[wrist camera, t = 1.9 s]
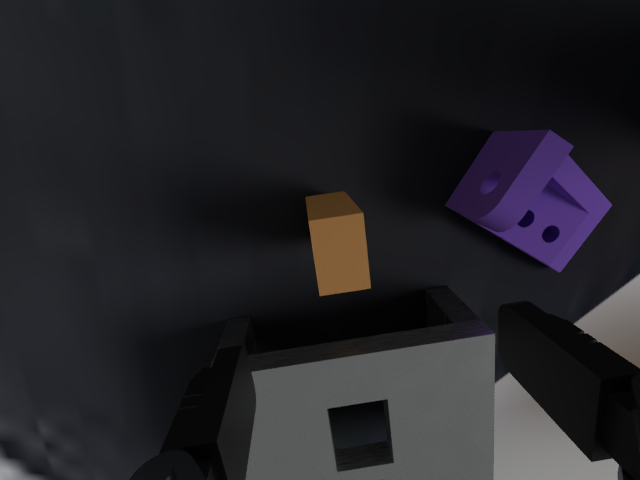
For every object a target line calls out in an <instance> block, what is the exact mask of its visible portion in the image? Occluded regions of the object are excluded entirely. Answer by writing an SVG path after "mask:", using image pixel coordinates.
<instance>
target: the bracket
mask: <svg viewBox="0 0 640 480" xmlns="http://www.w3.org/2000/svg"><path fill="white" fill-rule="evenodd" d="M573 147H574V146H573V145H571V144H570V143H568V142H567V141H565V140H564V139H563V138H561V137H560V136H558V135H557V134H555V133H554V132H552V131H551V130H525V131H496V132H493V133H492V134H491V136H490V137H489V139H488V140H487V142H486V143H485V145H484V146H483V148H482V149H481V151H480V152H479V154H478V155H477V157H476V158H475V160H474V162H473V163H472V165H471V166H470V168H469V169H468V171H467V172H466V174H465V175H464V177H463V178H462V180H461V181H460V183H459V184H458V186H457V188H456V189H455V191H454V192H453V194H452V195H451V197H450V198H449V200H448V201H447V203H446V204H445V206H446V207H448V208H450V209H451V210H453V211H455V212H457V213H458V214H460V215H462V216H463V217H465V218H467V219H468V220H470V221H472V222H473V223H475V224H477V225H479V226H480V227H482V228H484V229H485V230H487V231H489V232H490V233H492V234H494V235H496V236H497V237H499V238H501V239H502V240H504V241H506V242H507V243H509V244H511V245H512V246H514V247H516V248H518V249H519V250H521V251H523V252H524V253H526V254H528V255H529V256H531V257H533V258H534V259H536V260H538V261H540V262H541V263H543V264H545V265H546V266H548V267H550V268H552V269H554V270H556V271H557V272H559V273H560V272H561V271H562V269H563V268H564V267H565V265H566V264H567V263H568V262H569V260H570V259H571V258H572V256H573V255H574V254H575V253H576V251H577V250H578V249H579V247H580V246H581V245H582V244H583V242H584V241H585V240H586V238H587V237H588V236H589V234H590V233H591V232H592V231H593V229H594V228H595V227H596V225H597V224H598V223H599V222H600V220H601V219H602V218H603V216H604V215H605V214H606V213H607V211H608V210H609V209H610V207H611V206H612V204H611V203H610V202H609V201H608V200H607V198H606V197H605V196H604V195H603V194H602V193H601V192H600V190H599V189H598V188H597V187H596V186H595V185H594V184H593V182H592V181H591V180H590V179H589V178H588V177H587V176H586V175H585V173H584V172H583V171H582V170H581V169H580V168H579V167H578V165H577V164H576V163H575V162H574V161H573V160H572V159H571V157H570V156H569V155H568V154H569V153H570V151H571V150H572V148H573ZM544 229H545V231H544ZM543 231H544V232H543ZM542 233H543V234H542Z"/></svg>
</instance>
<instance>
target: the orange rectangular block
mask: <svg viewBox="0 0 640 480" xmlns="http://www.w3.org/2000/svg"><path fill="white" fill-rule="evenodd" d="M305 198H306V206H307V214H308V222H309V228H310V235H311V242H312V248H313V255H314V262H315V268H316V275H317V281H318V288H319V295H320V296H324V295H331V294H337V293H344V292H350V291H357V290H364V289H370V288H371V283H370V274H369V264H368V254H367V244H366V235H365V225H364V215H363V212H362V211H361V210H360V209H359V207H358V206H357V205H356V204H355V203H354V202H353V201H352V199H351V198H350V197H349V196H348V195H347V194H346V193H345V191H341V192H335V193H328V194H321V195H314V196H307V197H305Z"/></svg>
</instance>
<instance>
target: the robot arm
mask: <svg viewBox="0 0 640 480" xmlns="http://www.w3.org/2000/svg"><path fill="white" fill-rule="evenodd" d="M498 352H499V356H500V359H501V361H502V363H503V365H504V366H505V368H506V369H507V370H508V371H509V372H510V373H511V374H512V376H513V377H514V378H515V379H516V380H517V381H518V382H519V383H520V384H521V385H522V387H523V388H524V389H525V390H526V391H527V392H528V393H529V394H530V395H531V396H532V397H533V399H534V400H535V401H536V402H537V403H538V404H539V405H540V406H541V407H542V408H543V409H544V411H545V412H546V413H547V414H548V415H549V416H550V417H551V418H552V419H553V420H554V421H555V423H556V424H557V425H558V426H559V427H560V428H561V429H562V430H563V431H564V432H565V433H566V434H567V436H568V437H569V438H570V439H571V440H572V441H573V442H574V443H575V444H576V445H577V447H578V448H579V449H580V450H581V451H582V452H583V453H584V454H585V455H586V456H587V457H588V458H589V460H590V461H591V462H594V461H599V460H605V459H611V458H613V459H614V460H615V461H616V462H617V463H618V464H619V468H618V480H640V368H638V367H637V366H635V365H634V364H632V363H631V362H629V361H628V360H626V359H625V358H623V357H622V356H620V355H619V354H617V353H615V352H614V351H613V350H611V349H610V348H608V347H607V346H605V345H604V344H602V343H601V342H597V340H596V339H595V338H593V337H592V336H590V335H589V334H585V333H584V331H583V330H581V329H580V328H578V327H577V326H575V325H574V324H572V323H571V322H569V321H567V320H564V319H562V318H559V317H557V316H554V315H551V314H547V313H545V312H544V311H542V310H541V309H540V308H538V307H537V306H535V305H534V304H532V303H531V302H529V301H521V302H515V303H508V304H503V305H501V306H500V308H499V313H498ZM179 408H180V409H179V410H178V411H177V413H176V416H175V418H174V420H173V423H172V425H171V427H170V430H169V432H168V434H167V437H166V439H165V441H164V444H163V446H162V448H161V450H160V453H159V455H157V456H155V457H153V458H151V459H150V460H148V461H147V462H145V463H144V464H143V465H142V466H141V467H139V468H138V469H137V471H136V472H135V473H134V474H133V475H132V476H131V478H130V479H129V480H245V479H246V472H247V465H248V459H249V452H250V445H251V438H252V431H253V425H254V418H255V411H256V392H255V385H254V381H253V377H252V372H251V368H250V364H249V359H248V355H247V351H246V348H245V346H244V345H240V346H233V347H227V348H221V349H219V350H218V352H217V354H216V357H215V360H214V363H213V365H212V367H208V368H202V369H201V371H200V372H199V373H198V374H197V375H196V376H195V377H194V378H193V379H192V380H191V381H190V383H189V386H188V388H187V390H186V393H185V398H183V400H182V402H181V404H180V407H179Z"/></svg>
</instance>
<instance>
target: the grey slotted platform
mask: <svg viewBox="0 0 640 480" xmlns="http://www.w3.org/2000/svg"><path fill="white" fill-rule="evenodd" d="M425 294H426V313H427V327H426V328H420V329H414V330H407V331H401V332H394V333H388V334H381V335H375V336H369V337H362V338H356V339H349V340H343V341H336V342H330V343H324V344H317V345H311V346H304V347H298V348H291V349H285V350H279V351H272V352H266V353H259V354H258V350H257V345H256V341H255V336H254V332H253V327H252V323H251V318H250V316H247V317H241V318H234V319H228V321H227V323H226V326H225V328H224V331H223V334H222V336H221V339H220V341H219V344H218V347H217V349H216V352H215V354H214V357H213V360H212V362H211V365H210V367H212V365H213V363H214V360H215V357H216V354H217V352H218V350H219V349H221V348H227V347H233V346H240V345H244V346H245V348H246V351H247V355H248V359H249V364H250V368H251V372H252V377H253V381H254V385H255V392H256V411H255V418H254V425H253V431H252V438H251V445H250V452H249V459H248V465H247V472H246V479H245V480H493V464H494V458H493V457H494V382H495V333H494V332H493V331H492V330H491V329H490V328H489V327H488V326H487V325H486V324H485V323H484V322H483V321H482V320H481V319H480V318H479V317H478V316H477V315H476V314H475V313H474V312H473V311H472V310H471V309H470V308H469V307H468V306H467V305H466V304H465V303H464V302H463V301H462V300H461V299H460V298H459V297H458V296H457V295H456V294H455V293H454V292H453V291H452V290H451V289H450V288H449V287H448V286H443V287H437V288H430V289H425ZM379 400H383V402H384V412H385V422H386V431H387V441H384V442H378V443H372V444H366V445H360V446H353V447H347V448H341V449H335V450H334V443H333V437H332V431H331V425H330V418H329V412H328V409H329V408H335V407H341V406H347V405H354V404H360V403H366V402H373V401H379Z"/></svg>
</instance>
